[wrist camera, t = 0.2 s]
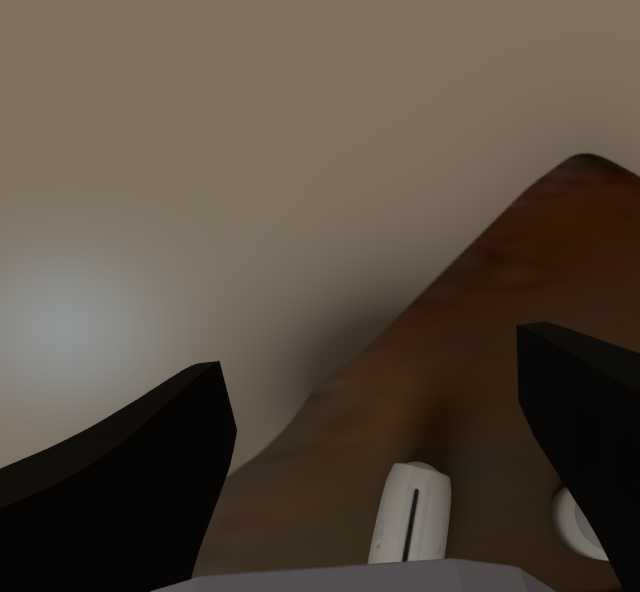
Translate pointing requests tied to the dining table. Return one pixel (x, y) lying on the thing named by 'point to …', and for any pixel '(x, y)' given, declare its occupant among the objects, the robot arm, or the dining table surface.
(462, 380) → the dining table surface
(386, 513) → the photo printer
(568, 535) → the white round cylinder
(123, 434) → the robot arm
